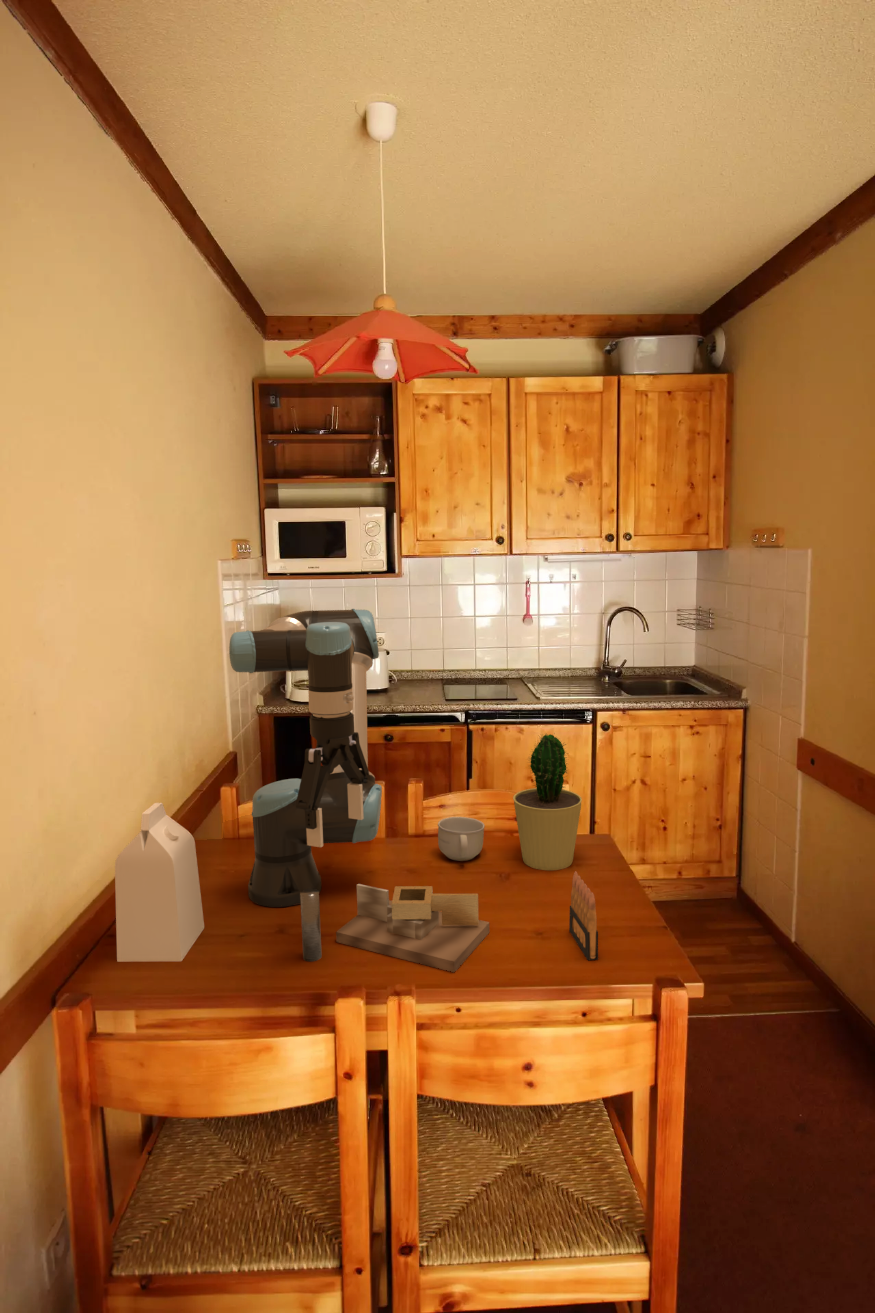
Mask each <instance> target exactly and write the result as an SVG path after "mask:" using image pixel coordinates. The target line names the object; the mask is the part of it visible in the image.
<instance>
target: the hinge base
mask: <svg viewBox="0 0 875 1313" xmlns="http://www.w3.org/2000/svg"><path fill="white" fill-rule="evenodd" d="M389 894H390V893H389V889H385V888H379V887H376V886H370V885H365V884H361V883H358V884H356V902H357V903H356V904H357V905H356V906H357V915H355V916H354V917H353V918H352V919H351V920H349V921H347V923H345V924H344V925H343V926H341V928H339V929H338V930H337V931H336V932H335V933H336V934H335V936H336V943H340V944H343V945H346V946H350V947H353V948H354V947H355V948H357V949H362V950H366V951H370V952H374V953H377V954H381V955H385V956H388V957H393V958H397V959H399V960H400V959H401V960H404V961H408V962H412V963H415V964H419V963H420V964H421V965H423V966H427V967H431V968H434V969H438V968H439V970H444V971H446V970H447V972H450V971H451V973H454V972H455V971H456V972H457V971H458V969H459V968H460V967H461V966H462V964H464V963H465V962H466V961H467V959H468V958H469V956H471V954H472V953H473V952H474V951H475V950H476V948H478V946H479V945H480V944H481V943H482V941H483V940H484V939H485V938H486V937H487V936H488V934H490V921H485V920H481V919H478V924H479V925H442V911H432V915H431V919H392V900H390V895H389ZM460 965H461V966H460ZM456 972H455V973H456Z"/></svg>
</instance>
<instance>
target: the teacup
mask: <svg viewBox="0 0 875 1313" xmlns="http://www.w3.org/2000/svg"><path fill="white" fill-rule="evenodd" d="M437 826H438V827H437V828H438V830H437V831H438V832H437V840H438V842H437V843H438V848H439V850H440V852H441V853H442V854H443V855H444V856H445V857H447V858H448V859H450V860H453V861H458V862H459V861H460V862H463V861H465V862H466V861H470V860H473V859H474V858H476V856H478V855H479V854H480V853H481V851H482V849H483V845H484V835H485V834H484V833H485V823H484V822H483V821H481V820H479V819H476V818H473V817H465V816H450V817H446V818H442V819H440V820H439V821H438V822H437Z"/></svg>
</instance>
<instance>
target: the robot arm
mask: <svg viewBox="0 0 875 1313" xmlns="http://www.w3.org/2000/svg"><path fill="white" fill-rule="evenodd" d="M376 630H377V629H376V623H375V619H374V614H372V612H371V611H370V610H368V609H355V608H351V609H334V610H333V609H332V610H331V609H329V610H328V609H327V610H326V609H324V610H323V609H321V610H312V609H311V610H304V611H298V612H294V613H290V614H287V615H283V616H281V617H278V618H275V619H274V620H273V621H271V623H269V625H268V626H267V627H265V628H263V629H260V630H248V629H247V630H245V631H244V630H243V631H236V632H233V634H231V636H230V639H229V647H228V648H229V650H228V651H229V652H228V653H229V654H228V655H229V662H230V666H231V668H232V670H233V671H234V672H236V673H249V674H254V673H267V672H268V673H269V672H270V673H271V672H273V673H274V672H303V671H305V672H307V676H308V678H307V679H308V680H307V682H308V690H307V692H308V712H309V713H311V715H310V716H309V728H310V729H309V731H310V732H309V733H310V735H311V737H312V738H314V739H315V741H316V744H315V745H316V746H315V748H306V749H305V750H304V765H303V769H302V773H301V778H296V777H295V778H288V779H281V780H278V781H274V782H270V783H268V784H266V785H264V786H261V787H260V788H258V789H257V790H256V791H255V792H254V794H253V796H252V810H251V811H252V812H251V817H252V826H253V827H252V828H253V842H254V843H253V844H254V857H255V858H254V863H253V866H252V869H251V874H250V878H249V881H248V885H247V891H248V898H249V899H250V901H251V902H252V903H254V904H257V905H260V906H262V907H268V908H282V907H285V908H286V907H291V906H296V905H301V900H300V892H301V891H303V890H305V889H310V888H313V889H317V890H318V891H319V893H320V892H321V890H322V876H321V874H320V872H319V871H318V868H317V865H316V862H315V859H314V856H313V853H312V847H314V848H315V847H317V848H322V847H324V844H342V843H344V844H345V843H352V844H356V843H359V842H369V841H372V840H374V839H375V838H376V836H377V834H378V831H379V826H380V818H381V817H380V816H381V808H382V807H381V806H382V794H383V788H382V785H381V784H378V783H376V777H375V775H374V774H373V773H372V772H370V771H369V765H368V764H369V763H368V762H369V760H368V757H369V756H368V754H369V753H368V702H367V701H368V697H367V696H368V694H367V693H368V691H367V672H368V671H369V670H370V669H372V667H373V664H374V660H376V659H378V658H379V657H380V653H379V644H378V643H379V642H378V637H377V631H376Z"/></svg>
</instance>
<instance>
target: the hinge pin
mask: <svg viewBox="0 0 875 1313" xmlns="http://www.w3.org/2000/svg"><path fill="white" fill-rule="evenodd" d="M319 894H320V892H319V891H318V890H317V889H313V888H310V889H305V890H303V891H301V892H300V900H301V903H300V915H301V916H300V918H301V920H300V922H301V939H302V940H301V941H302V958H303V960H304V961H305V962H310V963H311V962H316V961H320V959H321V958H322V954H323V953H322V939H321V938H322V935H321V933H322V932H321V915H320V914H321V912H320V895H319Z"/></svg>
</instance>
